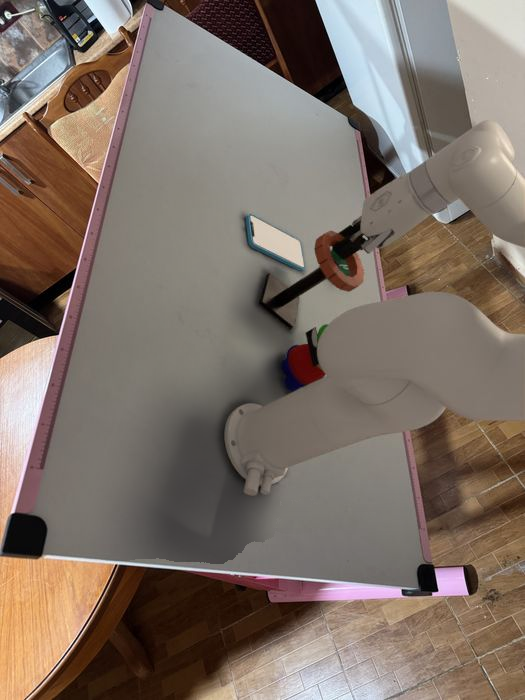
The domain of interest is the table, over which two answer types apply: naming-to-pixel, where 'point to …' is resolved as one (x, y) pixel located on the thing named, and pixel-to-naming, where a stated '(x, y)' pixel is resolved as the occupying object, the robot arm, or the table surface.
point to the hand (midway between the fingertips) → (338, 247)
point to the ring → (331, 268)
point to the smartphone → (275, 242)
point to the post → (287, 295)
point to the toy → (303, 362)
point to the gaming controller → (341, 263)
